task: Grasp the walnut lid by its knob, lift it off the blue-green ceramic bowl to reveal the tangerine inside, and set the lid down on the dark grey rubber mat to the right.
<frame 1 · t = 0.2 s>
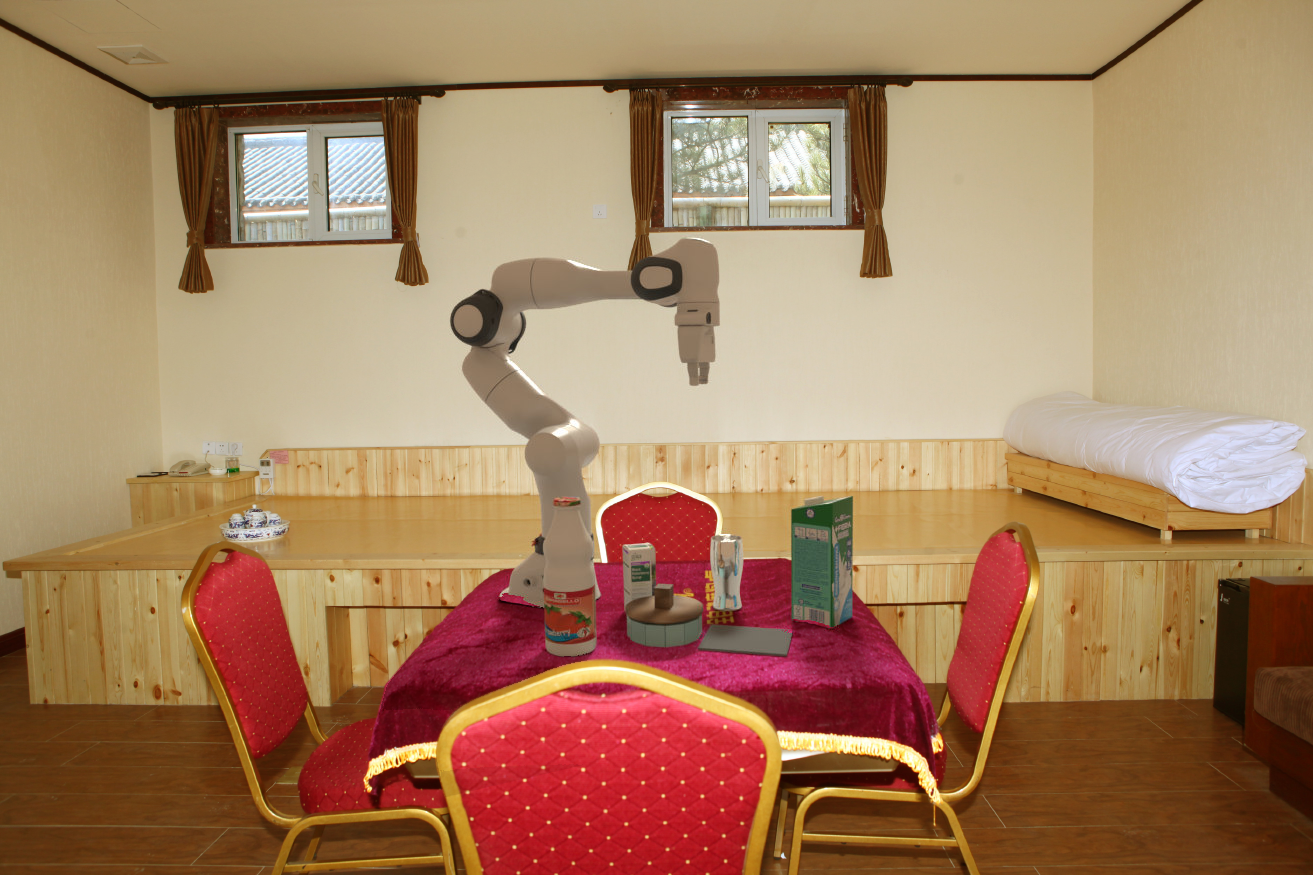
hand: (699, 385, 165), 47 cm above the table, fingers open, 8 cm apart
milk carton: (821, 619, 160), on the table
lid: (664, 610, 152), point 5 cm above the table, touching tangerine
chrome tumbler: (727, 607, 169), on the table
bowl: (664, 633, 153), on the table
syrup box: (640, 614, 165), on the table
mat: (746, 640, 148), on the table
tangerine: (664, 620, 152), point 3 cm above the table, touching bowl, lid
fruit juice: (571, 649, 146), on the table
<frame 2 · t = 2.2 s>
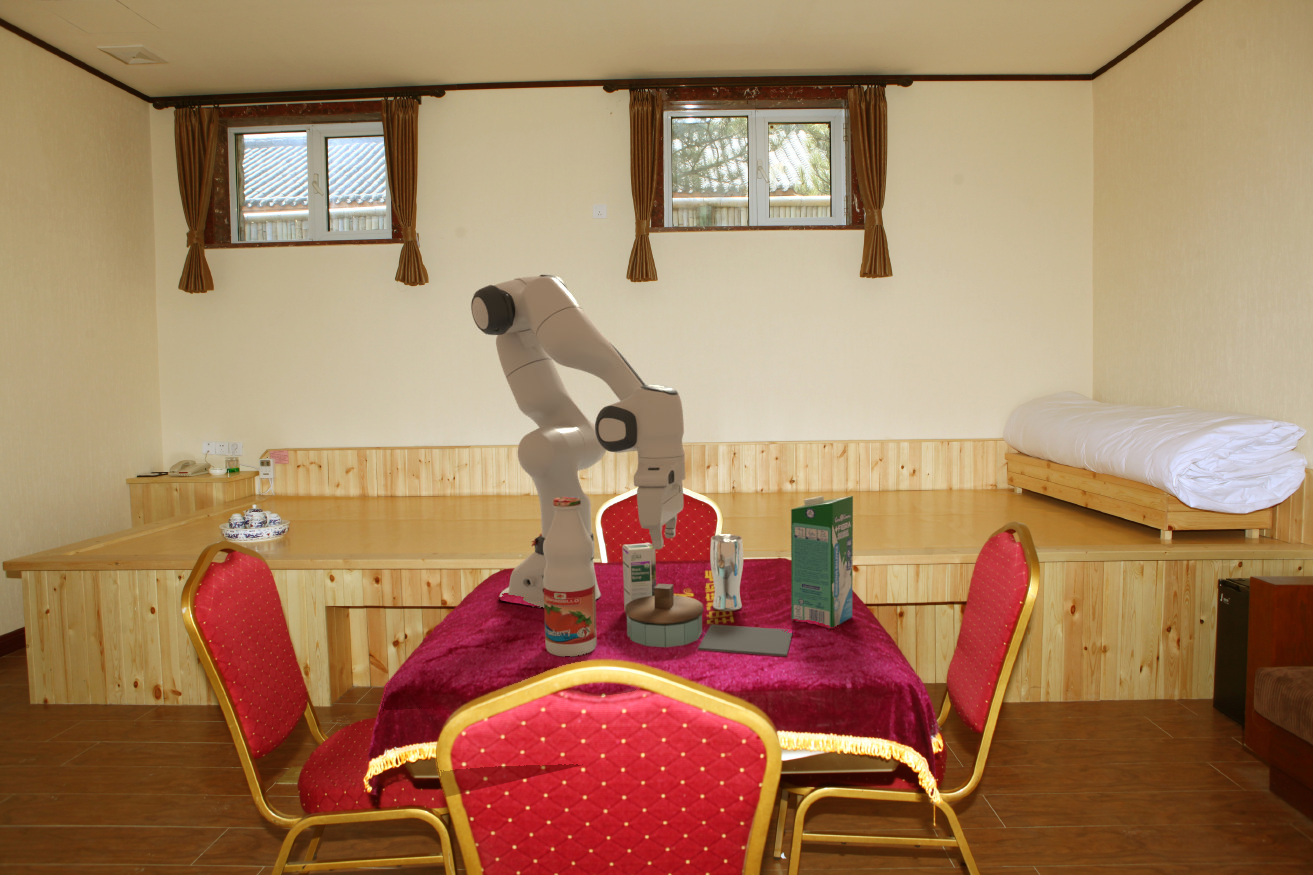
hand: (664, 542, 151), 18 cm above the table, fingers open, 8 cm apart
nothing on the table moved.
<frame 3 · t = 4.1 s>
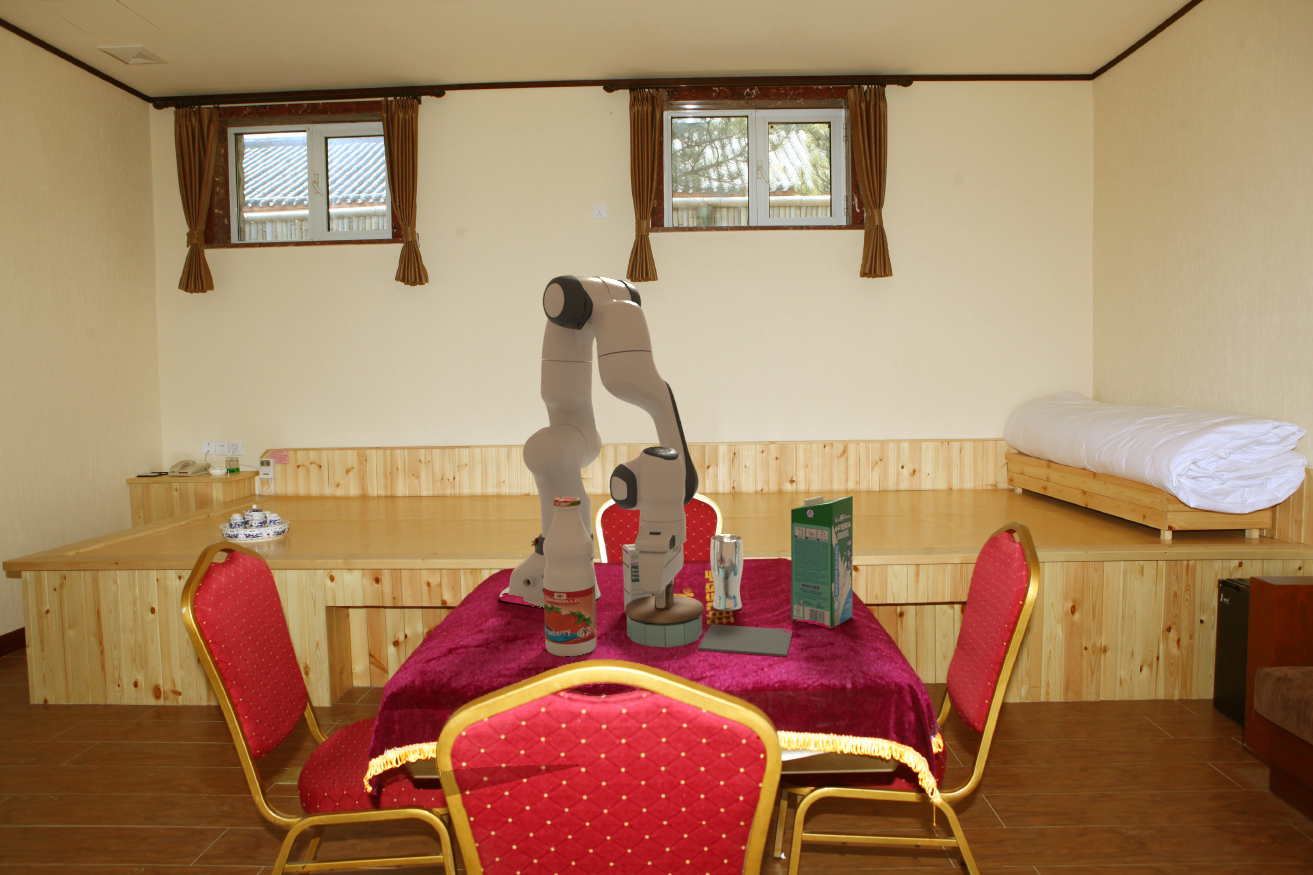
hand: (664, 603, 152), 6 cm above the table, fingers closed on lid, 3 cm apart
lid: (664, 610, 152), point 5 cm above the table, touching gripper, tangerine
everything else where it was.
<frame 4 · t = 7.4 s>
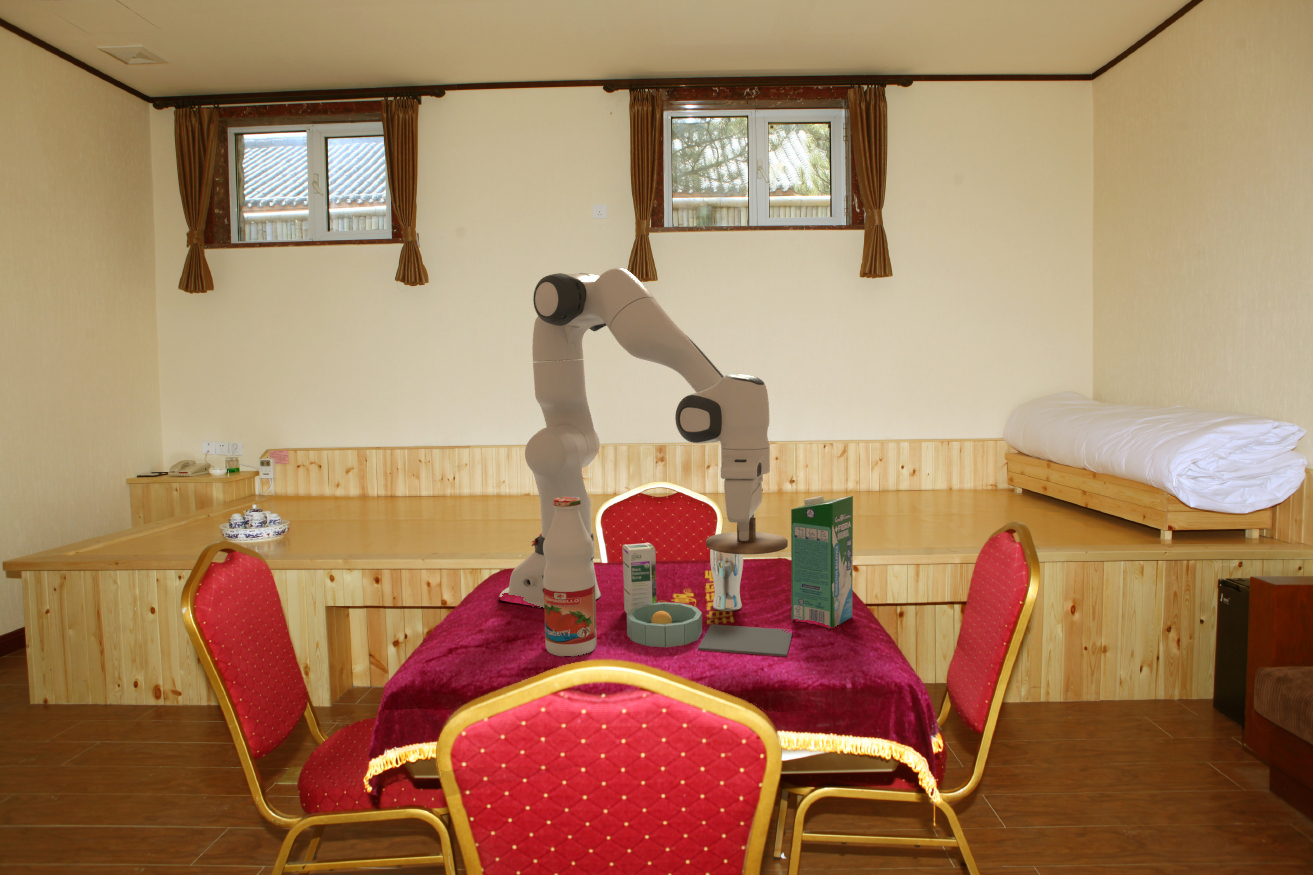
hand: (746, 537, 146), 20 cm above the table, fingers closed on lid, 3 cm apart
lid: (746, 544, 146), point 18 cm above the table, touching gripper
tangerine: (661, 621, 152), point 3 cm above the table, tilted 20°, touching bowl
everything else where it was.
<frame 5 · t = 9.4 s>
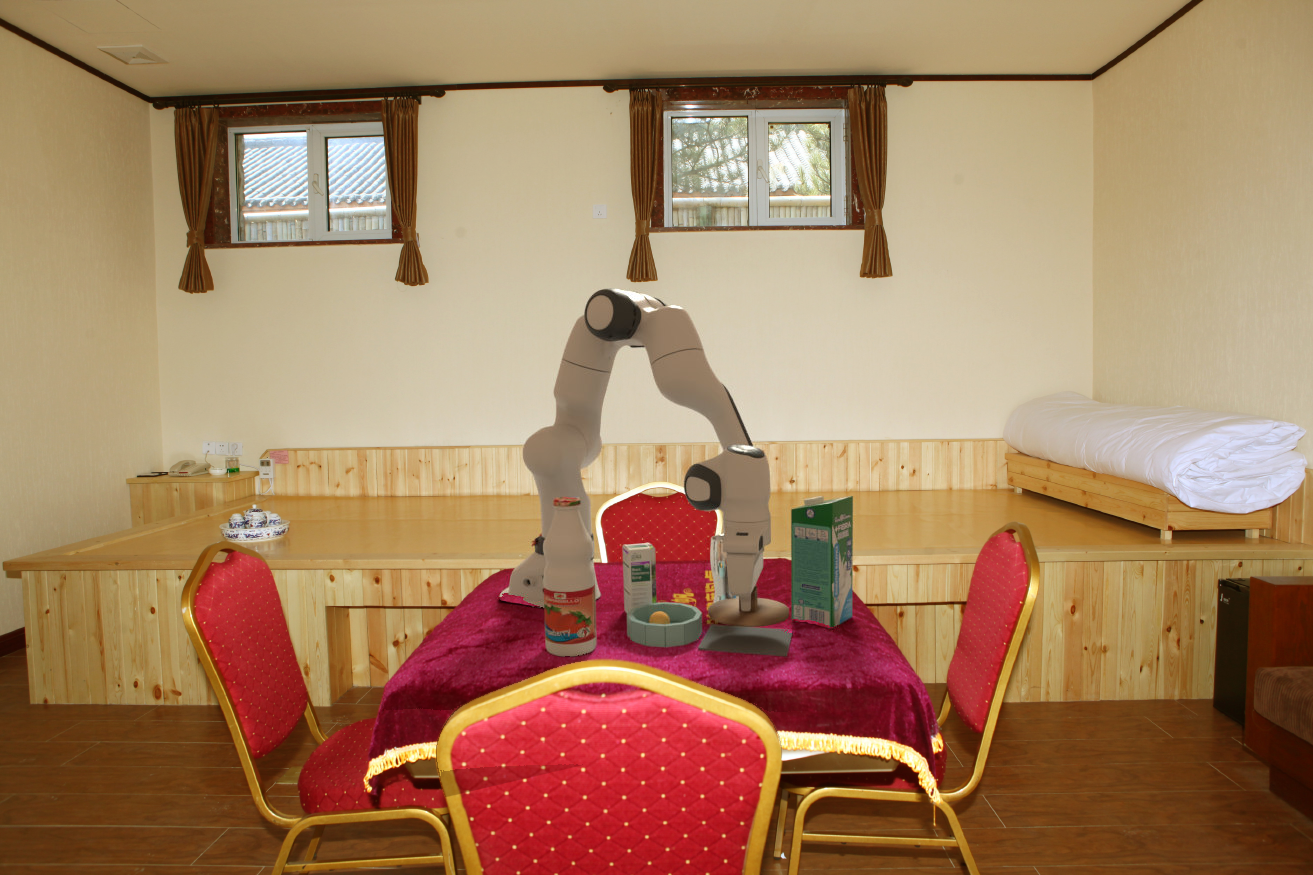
hand: (747, 606, 147), 7 cm above the table, fingers closed on lid, 3 cm apart
lid: (748, 613, 148), point 5 cm above the table, touching gripper
tangerine: (659, 621, 152), point 3 cm above the table, tilted 34°, touching bowl
everything else where it was.
when the fingers open (3 cm above the table, at t = 10.8 s): lid drops 2 cm, resting on mat.
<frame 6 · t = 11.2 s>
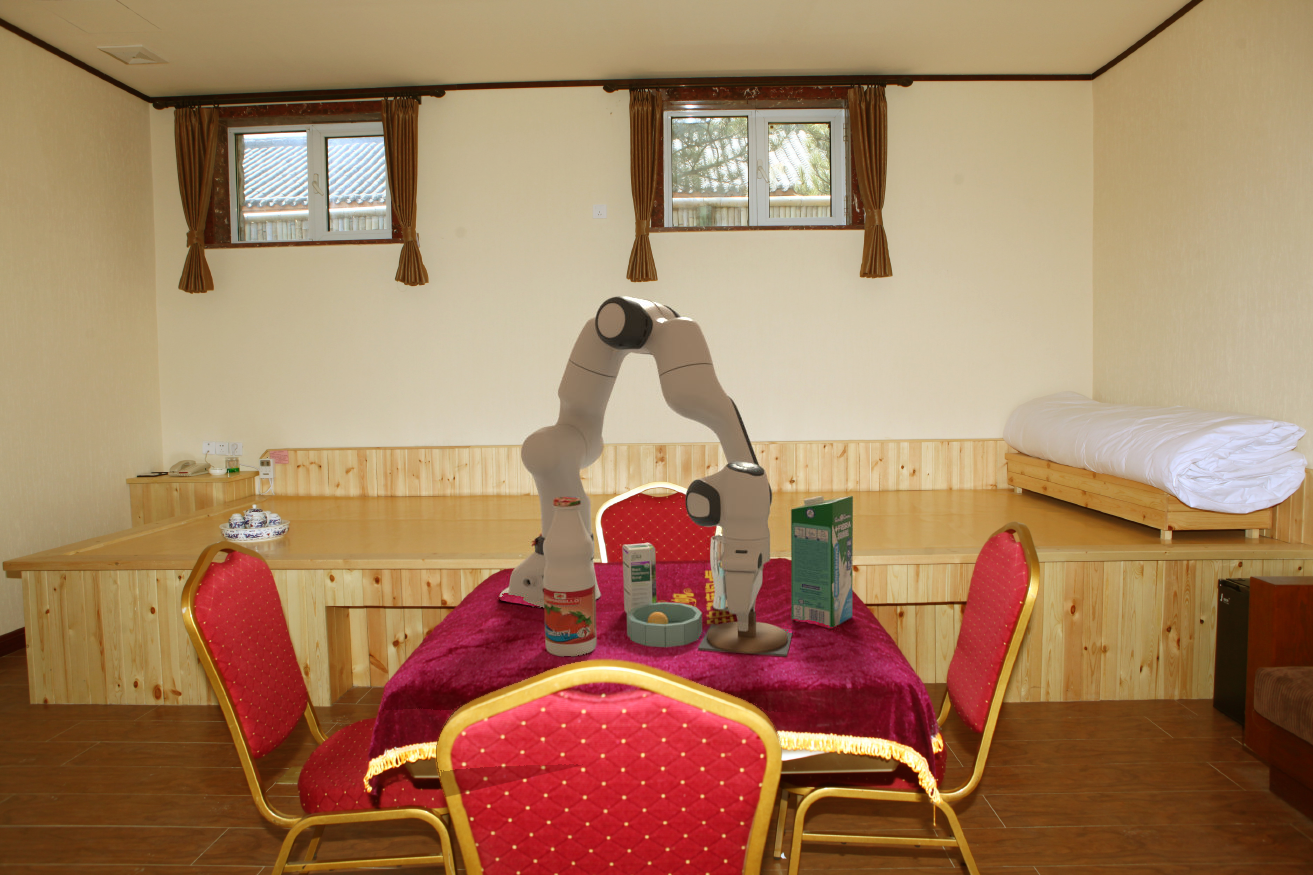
hand: (746, 622, 148), 3 cm above the table, fingers open, 6 cm apart
lid: (747, 638, 148), resting on mat
tangerine: (657, 622, 151), point 3 cm above the table, tilted 47°, touching bowl
everything else where it was.
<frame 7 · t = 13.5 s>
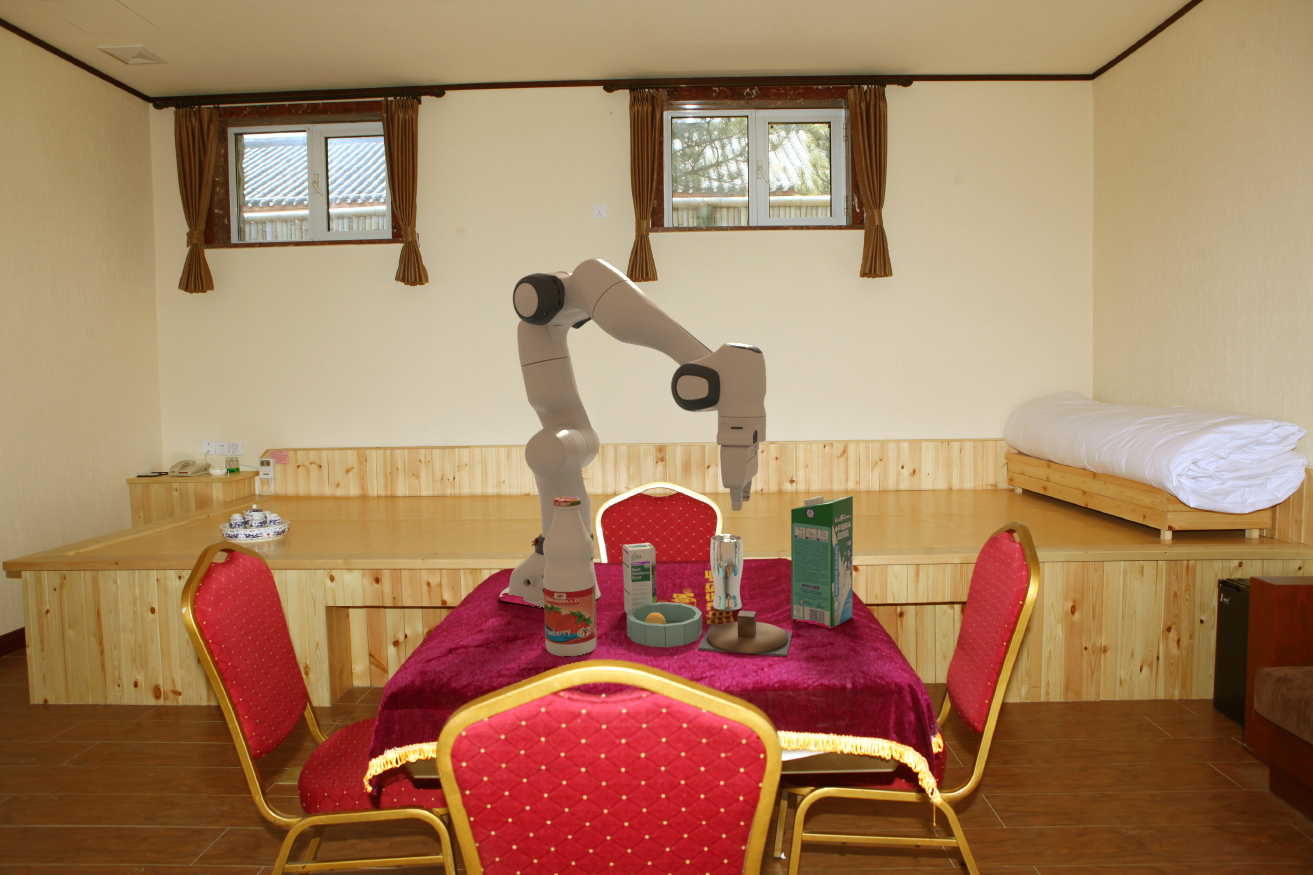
hand: (741, 505, 147), 25 cm above the table, fingers open, 8 cm apart
tangerine: (655, 623, 151), point 3 cm above the table, tilted 64°, touching bowl
everything else where it was.
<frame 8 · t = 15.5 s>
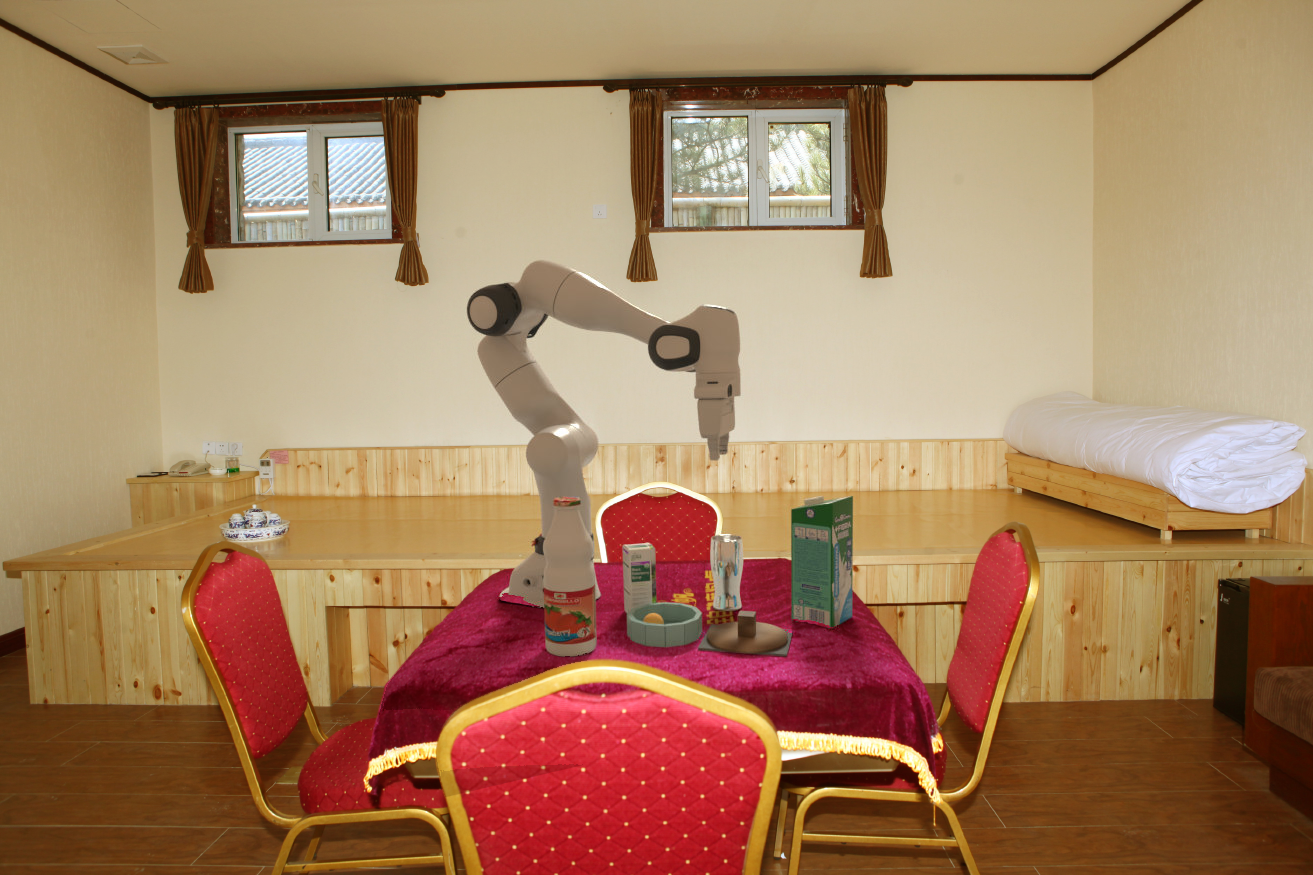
hand: (718, 457, 158), 33 cm above the table, fingers open, 8 cm apart
tangerine: (653, 623, 151), point 3 cm above the table, tilted 78°, touching bowl
everything else where it was.
at the end: lid inside the target area on the mat (0.0 cm from its centre), point 0.4 cm above the mat's base; lid moved 16.4 cm from its start; the gripper is holding nothing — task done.
